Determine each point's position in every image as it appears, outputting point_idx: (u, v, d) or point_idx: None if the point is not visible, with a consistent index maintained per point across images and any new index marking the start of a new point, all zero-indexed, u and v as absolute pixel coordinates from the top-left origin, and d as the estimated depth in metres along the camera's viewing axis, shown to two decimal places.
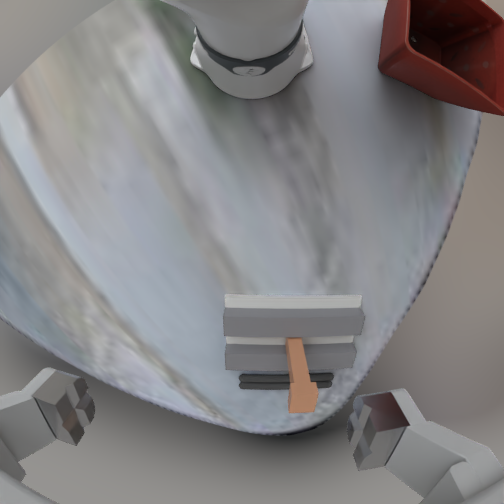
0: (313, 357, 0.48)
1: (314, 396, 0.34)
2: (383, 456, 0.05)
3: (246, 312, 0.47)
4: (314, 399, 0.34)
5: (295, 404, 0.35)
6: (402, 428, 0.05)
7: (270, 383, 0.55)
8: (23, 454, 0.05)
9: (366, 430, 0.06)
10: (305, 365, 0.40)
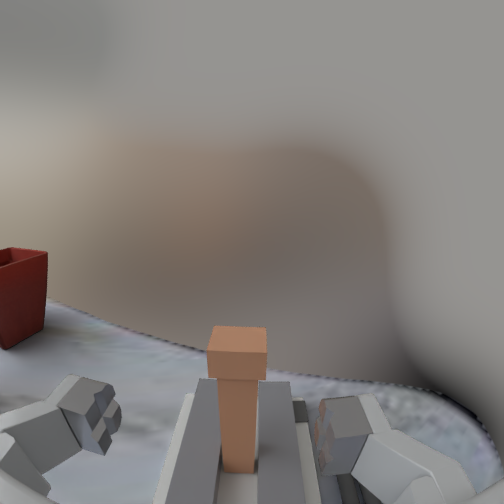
0: (266, 426, 0.27)
1: (220, 329, 0.21)
2: (347, 463, 0.05)
3: None
4: (227, 328, 0.21)
5: (237, 345, 0.19)
6: (364, 436, 0.05)
7: (359, 482, 0.20)
8: (47, 467, 0.05)
9: (327, 435, 0.06)
10: None
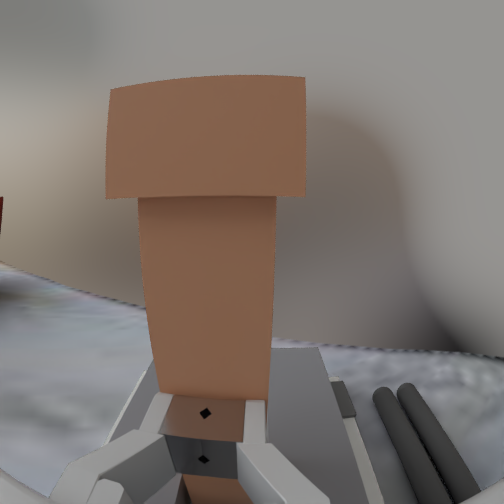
0: (283, 428, 0.12)
1: None
2: (227, 468, 0.05)
3: None
4: None
5: None
6: (232, 443, 0.05)
7: None
8: (137, 501, 0.04)
9: None
10: None
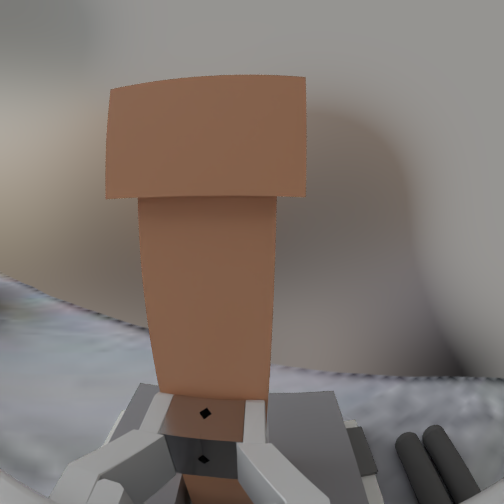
0: None
1: None
2: (227, 468, 0.05)
3: None
4: None
5: None
6: (232, 443, 0.05)
7: None
8: (137, 501, 0.04)
9: None
10: None
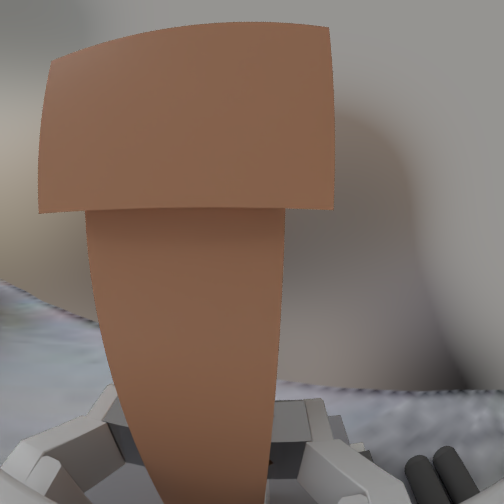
0: None
1: None
2: (289, 468, 0.05)
3: None
4: None
5: None
6: (301, 442, 0.05)
7: None
8: (87, 485, 0.04)
9: None
10: None
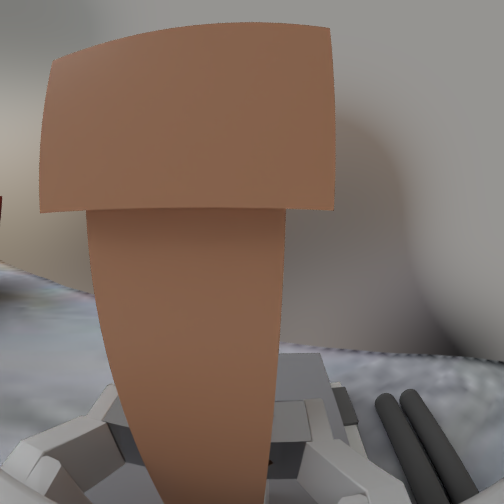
0: None
1: None
2: (289, 468, 0.05)
3: None
4: None
5: None
6: (301, 442, 0.05)
7: None
8: (87, 485, 0.04)
9: None
10: None
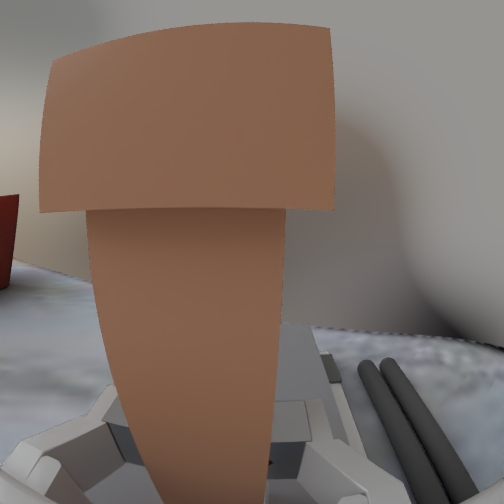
0: (278, 381, 0.17)
1: None
2: (289, 468, 0.05)
3: None
4: None
5: None
6: (301, 442, 0.05)
7: (439, 468, 0.10)
8: (87, 485, 0.04)
9: None
10: None
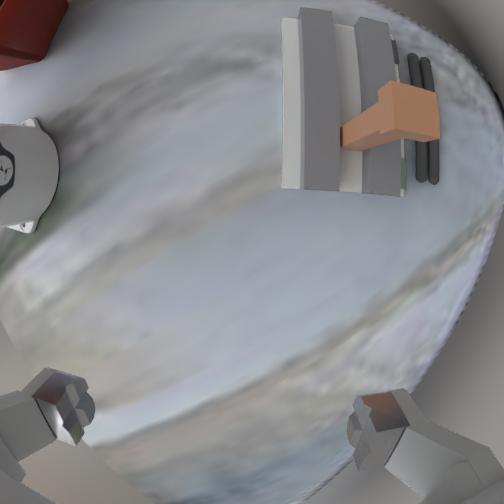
0: (372, 67, 0.27)
1: (398, 88, 0.15)
2: (383, 456, 0.05)
3: (302, 156, 0.31)
4: (404, 88, 0.15)
5: (418, 123, 0.16)
6: (402, 428, 0.05)
7: None
8: (23, 454, 0.05)
9: (366, 430, 0.06)
10: (365, 113, 0.22)
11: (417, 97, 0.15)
